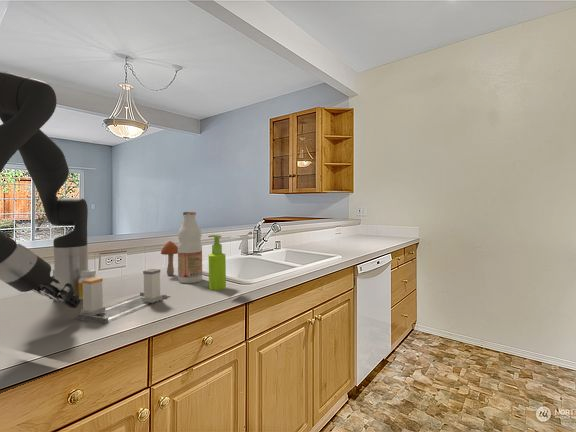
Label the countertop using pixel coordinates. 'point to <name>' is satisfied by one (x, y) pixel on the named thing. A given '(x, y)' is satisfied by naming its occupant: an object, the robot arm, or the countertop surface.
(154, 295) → the block
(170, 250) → the mushroom
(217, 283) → the soap dispenser
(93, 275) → the supplement bottle
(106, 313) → the grey flat plate
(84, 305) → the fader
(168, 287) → the countertop surface
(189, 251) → the fruit juice
